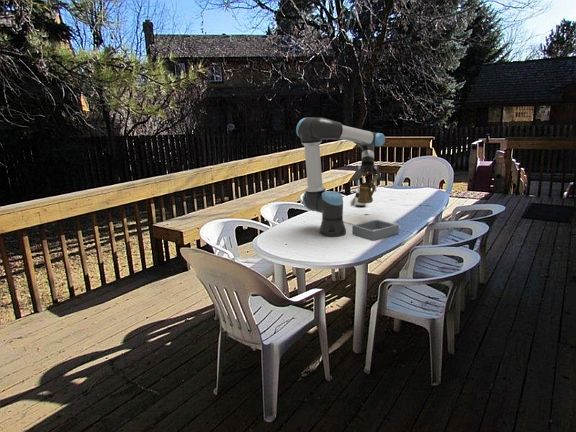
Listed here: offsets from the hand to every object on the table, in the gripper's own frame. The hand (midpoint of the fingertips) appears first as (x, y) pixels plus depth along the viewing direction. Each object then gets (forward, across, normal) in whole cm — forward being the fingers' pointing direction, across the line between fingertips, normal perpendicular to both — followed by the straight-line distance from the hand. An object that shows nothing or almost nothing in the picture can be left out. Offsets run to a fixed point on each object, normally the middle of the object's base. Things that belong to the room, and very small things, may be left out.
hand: (367, 190), depth 255 cm
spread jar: (-18, +6, -53) cm, 56 cm away
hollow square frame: (+28, -5, 0) cm, 29 cm away
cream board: (+9, +7, -22) cm, 25 cm away
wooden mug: (+4, -1, -8) cm, 9 cm away
